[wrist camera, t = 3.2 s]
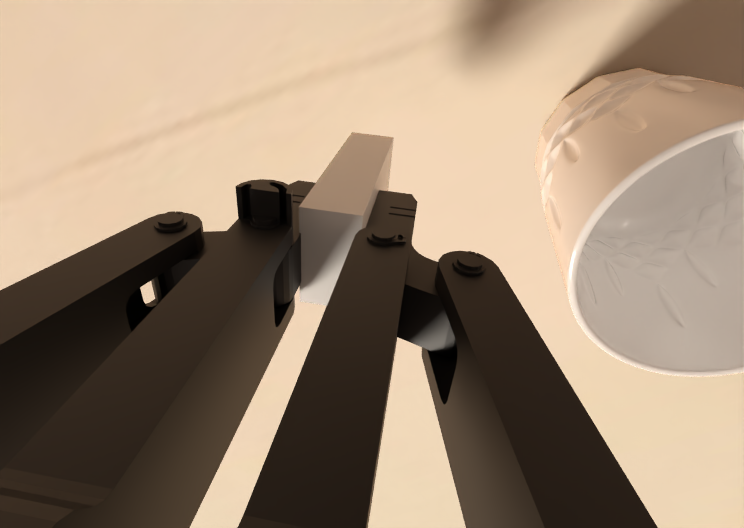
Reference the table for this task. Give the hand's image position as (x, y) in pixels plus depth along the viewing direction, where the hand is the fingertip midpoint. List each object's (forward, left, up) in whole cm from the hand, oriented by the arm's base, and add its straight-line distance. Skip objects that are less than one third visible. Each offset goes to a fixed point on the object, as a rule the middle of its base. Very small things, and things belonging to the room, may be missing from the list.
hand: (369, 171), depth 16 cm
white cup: (0, +10, -6) cm, 12 cm away
